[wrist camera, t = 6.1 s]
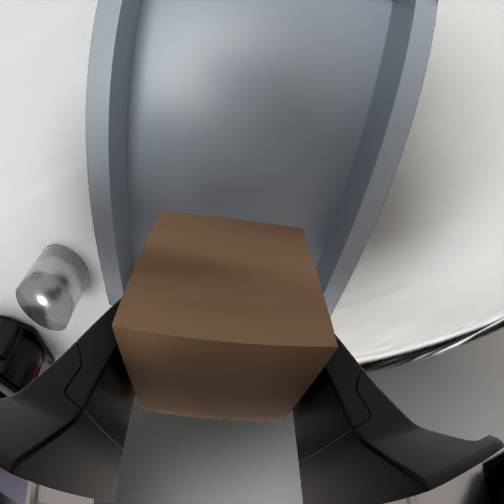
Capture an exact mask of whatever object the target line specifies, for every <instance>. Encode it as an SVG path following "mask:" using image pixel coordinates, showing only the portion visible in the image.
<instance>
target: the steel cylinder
mask: <svg viewBox="0 0 504 504" xmlns="http://www.w3.org/2000/svg"><path fill="white" fill-rule="evenodd" d="M88 280H89V273H88V269H87V267H86V265H85V263H84V262H83V260H82V259H81V258H80V257H79V256H78V255H77V254H76V253H75V252H74V251H72V250H71V249H69V248H67V247H65V246H62V245H57V244H54V245H50V246H48V247H47V248H46V249H45V250H44V251H43V253H42V254H41V255H40V257H39V258H38V259H37V261H36V262H35V263H34V265H33V266H32V268H31V269H30V270H29V272H28V273H27V275H26V276H25V278H24V279H23V281H22V282H21V284H20V285H19V287H18V288H17V290H16V298H17V301H18V303H19V305H20V307H21V308H22V309H23V311H24V312H25V313H26V314H27V315H28V316H29V317H30V318H31V319H32V320H33V321H35V322H36V323H37V324H39V325H41V326H43V327H45V328H47V329H50V330H54V331H61V330H63V329H65V328H66V326H67V324H68V321H69V319H70V317H71V315H72V313H73V311H74V309H75V307H76V305H77V303H78V301H79V299H80V297H81V295H82V293H83V291H84V289H85V287H86V285H87V283H88Z"/></svg>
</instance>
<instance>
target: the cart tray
mask: <svg viewBox="0 0 504 504" xmlns="http://www.w3.org/2000/svg"><path fill="white" fill-rule="evenodd" d="M437 6H438V0H98V4H97V9H96V14H95V19H94V25H93V32H92V38H91V46H90V54H89V64H88V76H87V93H86V151H87V169H88V182H89V192H90V201H91V210H92V217H93V224H94V231H95V237H96V243H97V249H98V254H99V259H100V264H101V269H102V274H103V279H104V283H105V287H106V292H107V296H108V300H109V304H110V305H114V304H115V303H116V302H117V301H118V300H119V299H120V298H121V297H122V296H123V294H124V291H125V289H126V286H127V284H128V281H129V279H130V277H131V274H132V272H133V269H134V267H135V265H136V262H137V260H138V258H139V256H140V253H141V251H142V249H143V247H144V244H145V242H146V240H147V238H148V236H149V233H150V231H151V229H152V227H153V225H154V223H155V221H156V219H157V217H158V215H159V213H160V211H161V210H162V211H171V212H180V213H189V214H198V215H206V216H214V217H222V218H230V219H238V220H246V221H254V222H261V223H268V224H276V225H283V226H290V227H297V228H303V231H304V234H305V237H306V240H307V243H308V246H309V249H310V253H311V256H312V259H313V262H314V265H315V268H316V272H317V275H318V278H319V281H320V285H321V288H322V291H323V295H324V298H325V302H326V305H327V309H328V312H329V316H331V314H332V312H333V310H334V309H335V307H336V305H337V303H338V301H339V299H340V297H341V295H342V293H343V291H344V289H345V287H346V285H347V283H348V281H349V279H350V277H351V275H352V273H353V271H354V269H355V267H356V265H357V263H358V261H359V258H360V256H361V254H362V252H363V250H364V248H365V245H366V243H367V241H368V239H369V236H370V234H371V232H372V229H373V227H374V225H375V222H376V220H377V218H378V215H379V213H380V210H381V208H382V206H383V203H384V201H385V198H386V196H387V193H388V190H389V188H390V185H391V182H392V180H393V177H394V174H395V172H396V169H397V166H398V163H399V160H400V158H401V155H402V152H403V149H404V146H405V143H406V140H407V137H408V133H409V130H410V127H411V124H412V120H413V117H414V114H415V110H416V107H417V103H418V99H419V96H420V92H421V88H422V84H423V80H424V76H425V72H426V67H427V63H428V58H429V53H430V48H431V43H432V38H433V32H434V26H435V20H436V13H437Z"/></svg>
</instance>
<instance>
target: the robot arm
mask: <svg viewBox="0 0 504 504" xmlns="http://www.w3.org/2000/svg"><path fill="white" fill-rule="evenodd" d="M121 299H122V297H121V298H120V299H119V300H118V301H117V302H116V303H115V304H114V305H113V306H112V307H111V308H110V309H109V310H108V311H107V312H106V313H105V314H104V315H103V316H101V317H100V318H99V319H98V320H97V321H96V322H95V323H94V324H93V325H92V326H91V327H90V328H89V329H88V330H87V331H86V332H85V333H84V334H83V335H82V336H81V337H80V338H79V339H78V340H77V342H75V343H74V344H73V345H72V346H71V347H70V348H69V349H68V350H67V351H66V352H65V353H64V354H63V355H62V356H61V357H60V358H59V359H58V360H57V361H54V359H53V358H52V356H51V354H50V353H49V351H48V350H47V348H46V346H45V345H44V343H43V341H42V340H41V338H40V336H39V335H38V333H37V331H36V330H35V329H34V328H32V327H29V326H26V325H23V324H20V323H18V322H15V321H12V320H9V319H6V318H4V317H1V316H0V504H93V500H94V499H96V500H102V501H107V502H115V496H116V489H117V483H118V476H119V470H120V465H121V459H122V453H123V451H122V450H123V448H124V443H125V438H126V434H127V429H128V424H129V419H130V415H131V411H132V406H133V402H134V398H135V394H136V392H135V390H134V388H133V385H132V383H131V380H130V377H129V375H128V372H127V370H126V367H125V364H124V361H123V359H122V356H121V353H120V350H119V347H118V344H117V341H116V338H115V335H114V331H113V328H112V323H113V320H114V318H115V315H116V312H117V309H118V307H119V304H120V302H121ZM335 337H336V341H337V345H338V348H337V349H336V351H335V352H334V354H333V355H332V357H331V358H330V359H329V361H328V362H327V364H326V365H325V367H324V368H323V369H322V371H321V372H320V373H319V375H318V376H317V378H316V379H315V380H314V382H313V383H312V384H311V386H310V387H309V388H308V390H307V391H306V392H305V394H304V395H303V396H302V397H301V399H300V400H299V401H298V403H297V404H296V405H295V406H294V408H293V409H292V410H293V419H294V426H295V435H296V443H297V451H298V460H299V470H300V478H301V487H302V497H303V504H504V451H502V452H501V453H499V454H497V455H495V456H494V457H492V458H490V459H488V460H486V459H487V458H489V457H490V456H492V455H493V454H495V453H496V452H497V451H499V450H500V449H501V448H503V447H504V444H503V442H502V441H501V440H499V439H498V438H496V437H493V436H491V435H488V436H486V437H484V438H482V439H481V440H477V441H469V440H464V439H460V438H456V437H452V436H448V435H444V434H441V433H437V432H434V431H430V430H427V429H424V428H422V427H419V426H417V425H416V424H414V423H413V422H412V421H411V420H410V419H409V418H407V417H406V415H404V414H403V412H402V411H401V410H400V409H399V408H397V406H396V405H395V404H394V403H393V402H392V401H391V400H390V399H389V398H388V397H387V396H386V395H385V394H384V393H383V392H382V391H381V390H380V389H379V388H378V387H377V385H376V384H375V383H374V382H373V380H372V379H371V378H370V377H369V376H368V374H367V373H366V372H365V371H364V369H363V368H361V366H360V365H359V363H358V362H357V361H356V360H355V358H354V357H353V356H352V355H351V353H350V352H349V351H348V350H347V348H346V347H345V346H344V345H343V343H342V342H341V341H340V340H339V338H338V337H337V336H336V335H335ZM43 362H45V363H48V364H51V366H50V367H49V368H47V369H46V370H45V371H44V372H43V373H42V374H40V375H39V376H38V374H39V372H40V369H41V366H42V364H43ZM1 391H2V392H1ZM5 394H6V395H5ZM8 396H9V397H8ZM484 460H486V461H484ZM483 461H484V462H483Z"/></svg>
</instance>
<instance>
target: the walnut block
mask: <svg viewBox="0 0 504 504" xmlns="http://www.w3.org/2000/svg"><path fill="white" fill-rule="evenodd" d="M112 328H113V331H114V335H115V338H116V341H117V344H118V347H119V350H120V353H121V356H122V359H123V361H124V364H125V367H126V370H127V372H128V375H129V377H130V380H131V383H132V385H133V388H134V390H135V392H136V395H137V397H138V399H139V402H140V404H141V406H142V409H143V410H148V411H154V412H160V413H166V414H173V415H180V416H188V417H197V418H207V419H220V420H237V421H283V420H284V419H285V417H286V416H287V415H288V414H289V412H290V411H291V410H292V409H293V408H294V406H295V405H296V404H297V403H298V401H299V400H300V399H301V397H302V396H303V395H304V394H305V392H306V391H307V390H308V388H309V387H310V386H311V384H312V383H313V382H314V380H315V379H316V378H317V376H318V375H319V373H320V372H321V371H322V369H323V368H324V367H325V365H326V364H327V362H328V361H329V359H330V358H331V357H332V355H333V354H334V352H335V351H336V349H337V348H338V345H337V341H336V337H335V334H334V330H333V326H332V323H331V319H330V316H329V312H328V309H327V305H326V302H325V298H324V295H323V291H322V288H321V285H320V281H319V278H318V275H317V272H316V268H315V265H314V262H313V259H312V256H311V253H310V249H309V246H308V243H307V240H306V237H305V234H304V231H303V228H297V227H290V226H283V225H276V224H268V223H261V222H254V221H246V220H238V219H230V218H222V217H214V216H206V215H198V214H189V213H180V212H171V211H162V210H161V211H160V213H159V215H158V217H157V219H156V221H155V223H154V225H153V227H152V229H151V231H150V233H149V236H148V238H147V240H146V242H145V244H144V247H143V249H142V251H141V253H140V256H139V258H138V260H137V262H136V265H135V267H134V269H133V272H132V274H131V277H130V279H129V281H128V284H127V286H126V289H125V291H124V294H123V296H122V299H121V302H120V304H119V307H118V309H117V312H116V315H115V318H114V320H113V323H112Z"/></svg>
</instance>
